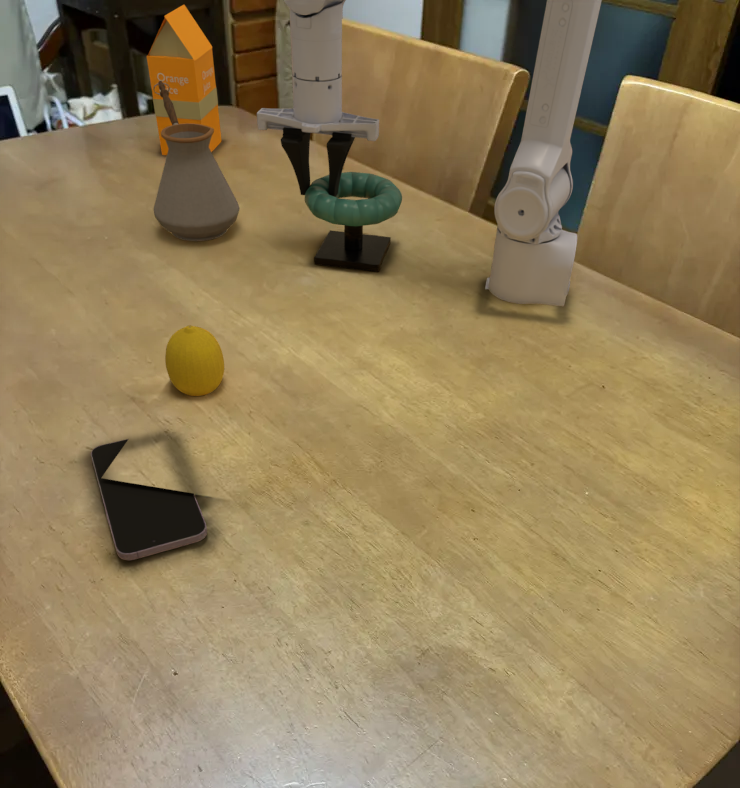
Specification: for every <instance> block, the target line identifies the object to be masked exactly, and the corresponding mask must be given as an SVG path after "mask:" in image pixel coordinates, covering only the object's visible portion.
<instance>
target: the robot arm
mask: <svg viewBox="0 0 740 788" xmlns="http://www.w3.org/2000/svg"><path fill="white" fill-rule="evenodd" d="M346 1H347V0H283V3H284V4H285V6H287V8H288V10H289V31H290V32H289V33H290V35H289V36H290V58H291V60H290V61H291V81H292V82H291V83H292V108H267V107H261V108H260V109H259V110H258V111H257V112H256V122H257V124H256V125H257V130H258V131H267V130H277V131H282V136H281V138H280V145H281V147H282V149H283V150H284V152H285V154H286V156H287V158H288V159H289V162H290V163H291V166H292V169H293V171H294V174H295V177H296V180H297V185H298V188H299V193H300V195H301V196H305V193H306V191H307V190H308V188H309V187H310V185H311V170H310V168H311V167H310V147H311V146H310V144H311V134H317V135H326V136H331V137H330V138H329V140H328V141H327V142H326V152H327V160H328V171H329V172H328V173H329V174H328V175H329V195H331V196H334V197H336V196H337V194H338V189H339V182H340V177H341V173H343V170H344V166H345V163H346V160H347V158H348V155H349V152H350V150H351V147H352V146H353V143H354V141H355V139H356V138H357V139H366V140H367V141H368V142H376V141H377V140H378V138H379V137H380V119H379V118H373V117H367V116H361V115H357V114H353V113H349V112H344V111H343V19H344V17H343V15H344V14H343V13H344V12H343V11H344V5H345V3H346ZM602 1H603V0H546V5H545V9H544V15H543V20H542V26H541V31H540V36H539V40H538V41H539V42H538V46H537V47H538V48H537V52H536V58H535V63H534V69H533V75H532V79H531V85H530V91H529V95H528V102H527V107H526V112H525V118H524V123H523V128H522V135H521V139H520V142H519V144H518V145H519V146H518V148H517V150H516V152H515V155H514V158H513V160H512V162H511V165H510V168H509V171H508V172H509V173H508V177H507V181H506V183H505V185H504V186H503V188H502V189H501V190H500V192H499V193H498V195H497V197H496V199H495V202H494V208H493V209H494V211H493V213H494V218H495V221H496V223H497V226H496V232H495V238H494V246H493V254H492V259H491V265H490V266H491V267H490V273H489V276H488V277H487V278H486V280H485V281H486V282H485V287H484V289H485V290H489V292H490V293H491V294H492V295H493V296H494V297H496V298H497V299H499V300H502V301H504V302H508V303H512V304H519V305H523V304H524V305H529V304H530V305H531V304H533V305H536V304H537V305H545V306H546V305H547V306H553V307H554V306H556V307H565V303H566V299H567V297H568V296H569V292H570V287H571V277H572V272H573V268H574V264H575V258H576V252H577V245H578V233H575V232H570V231H567V230H564V229H562V228H563V225H562V221H561V217H560V214H559V213H560V209H562V208H563V207H564V206H565V205H566V204H567V203H568V201H569V200H570V198H571V195H572V192H573V188H574V179H573V177H572V172H571V160H572V156H573V148H572V147H573V146H572V144H571V138H572V134H573V129H574V123H575V120H576V115H577V110H578V107H579V102H580V99H581V98H580V97H581V94H582V88H583V84H584V80H585V75H586V71H587V68H588V62H589V57H590V53H591V51H592V50H591V49H592V45H593V40H594V36H595V32H596V27H597V23H598V19H599V14H600V10H601V5H602Z"/></svg>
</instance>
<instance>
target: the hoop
mask: <svg viewBox="0 0 740 788" xmlns="http://www.w3.org/2000/svg"><path fill="white" fill-rule="evenodd" d="M346 198H347V199H346ZM349 198H360V199H349ZM402 202H403V194H402V192H401V190H400V189H399V188H398V187H397V185H396V184H395V183H394V182H393V181H391V180H390V179H389V178H386V177H383V176H380V175H377V174H374V173H368V172H360V171H359V172H357V171H343V172H342V173H341V177H340V182H339V189H338V194H337V196H336V197H334V196H331V195H329V174H327V175H324V176H321V177H319V178H316V179H315V180H313V181H312V182H311V183H310V187H309V188H308V190H307V191H306V193H305V195H304V203H305V205H306V206H307V208H308V210H309V211H310V213H311V214H312V215H313V216H314V217H315V218H317V219H319V220H322V221H324V222H327V223H329V224H333V225H337V226H344V225H346V226H363V227H364V226H372V225H379V224H381V223H383V222H385V221H387V220H389V219H391V218H393V217H394V216H396V215H397V214H398V212H399V210H400V207H401V205H402Z"/></svg>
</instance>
